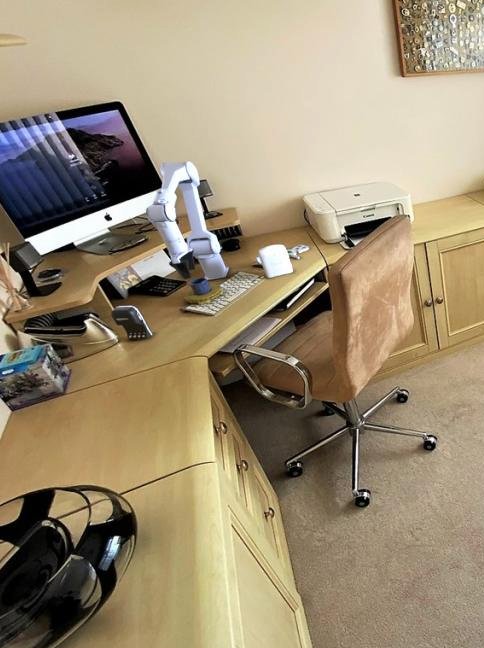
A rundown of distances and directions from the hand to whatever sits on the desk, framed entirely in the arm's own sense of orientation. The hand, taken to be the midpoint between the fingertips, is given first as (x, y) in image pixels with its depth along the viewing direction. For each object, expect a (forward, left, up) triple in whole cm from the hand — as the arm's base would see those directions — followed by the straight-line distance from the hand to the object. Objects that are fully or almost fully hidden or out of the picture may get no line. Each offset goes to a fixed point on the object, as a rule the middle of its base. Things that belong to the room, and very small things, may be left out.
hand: (189, 273), depth 156 cm
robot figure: (-26, +29, -10) cm, 40 cm away
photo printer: (-7, +28, -10) cm, 30 cm away
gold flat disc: (+2, +2, -10) cm, 10 cm away
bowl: (+2, +2, -7) cm, 7 cm away
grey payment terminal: (+25, -13, -10) cm, 29 cm away
